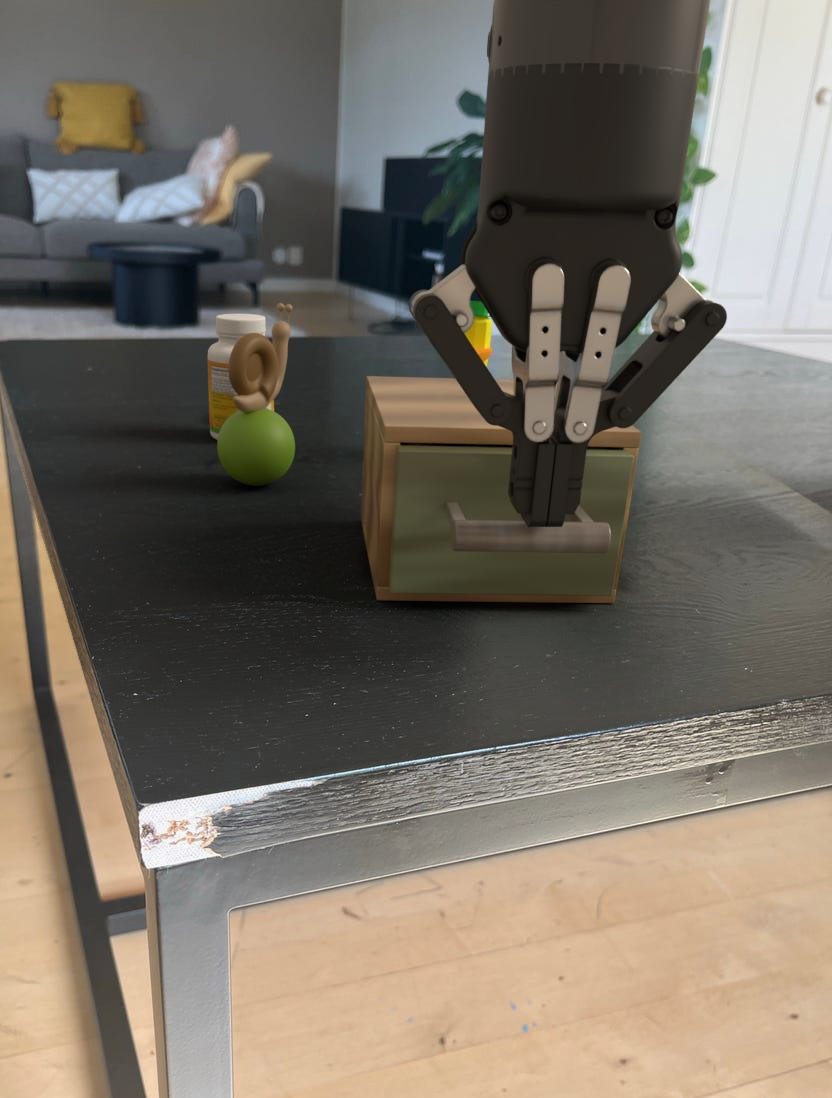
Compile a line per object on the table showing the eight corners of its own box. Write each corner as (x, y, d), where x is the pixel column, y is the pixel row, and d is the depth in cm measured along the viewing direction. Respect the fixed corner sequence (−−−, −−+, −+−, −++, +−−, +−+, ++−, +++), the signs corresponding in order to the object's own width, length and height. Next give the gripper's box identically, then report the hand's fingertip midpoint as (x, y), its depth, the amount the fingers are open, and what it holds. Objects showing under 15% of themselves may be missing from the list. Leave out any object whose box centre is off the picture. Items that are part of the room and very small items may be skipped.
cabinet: (614, 603, 52) (641, 431, 48) (376, 601, 51) (384, 425, 47) (553, 523, 64) (571, 381, 60) (360, 520, 63) (366, 375, 60)
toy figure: (481, 471, 75) (495, 307, 70) (435, 467, 76) (446, 304, 71) (492, 451, 81) (506, 298, 76) (449, 447, 82) (461, 295, 77)
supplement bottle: (235, 426, 86) (234, 310, 82) (286, 435, 84) (287, 316, 80) (196, 437, 82) (192, 316, 78) (248, 447, 80) (247, 322, 76)
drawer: (643, 636, 46) (669, 484, 43) (400, 633, 45) (409, 478, 42) (554, 520, 62) (569, 403, 59) (373, 517, 61) (378, 398, 58)
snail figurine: (316, 479, 72) (320, 306, 67) (265, 500, 67) (265, 314, 62) (255, 467, 74) (254, 299, 69) (202, 486, 69) (197, 307, 64)
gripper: (423, 45, 32) (398, 549, 39) (818, 60, 33) (722, 552, 40) (401, 70, 39) (383, 495, 46) (728, 82, 40) (660, 499, 47)
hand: (541, 521), depth 43 cm, fingers closed
